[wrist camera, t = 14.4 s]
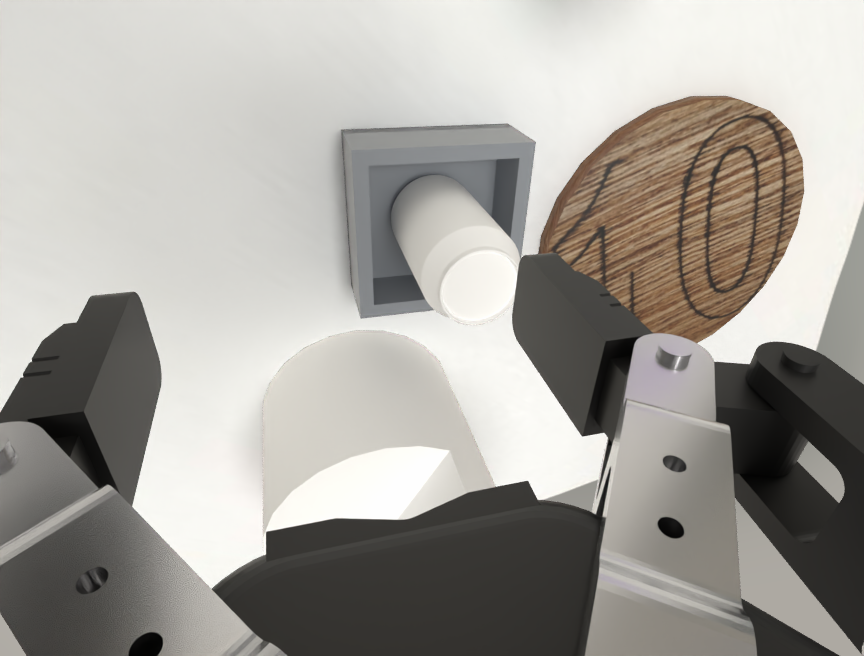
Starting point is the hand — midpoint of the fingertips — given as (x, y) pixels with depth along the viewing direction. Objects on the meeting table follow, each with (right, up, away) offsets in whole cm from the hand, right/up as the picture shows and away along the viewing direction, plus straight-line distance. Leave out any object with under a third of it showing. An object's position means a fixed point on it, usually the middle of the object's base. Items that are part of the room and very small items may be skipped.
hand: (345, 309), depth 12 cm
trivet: (+23, +8, +38) cm, 45 cm away
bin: (+1, +9, +30) cm, 31 cm away
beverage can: (+2, +8, +29) cm, 30 cm away
